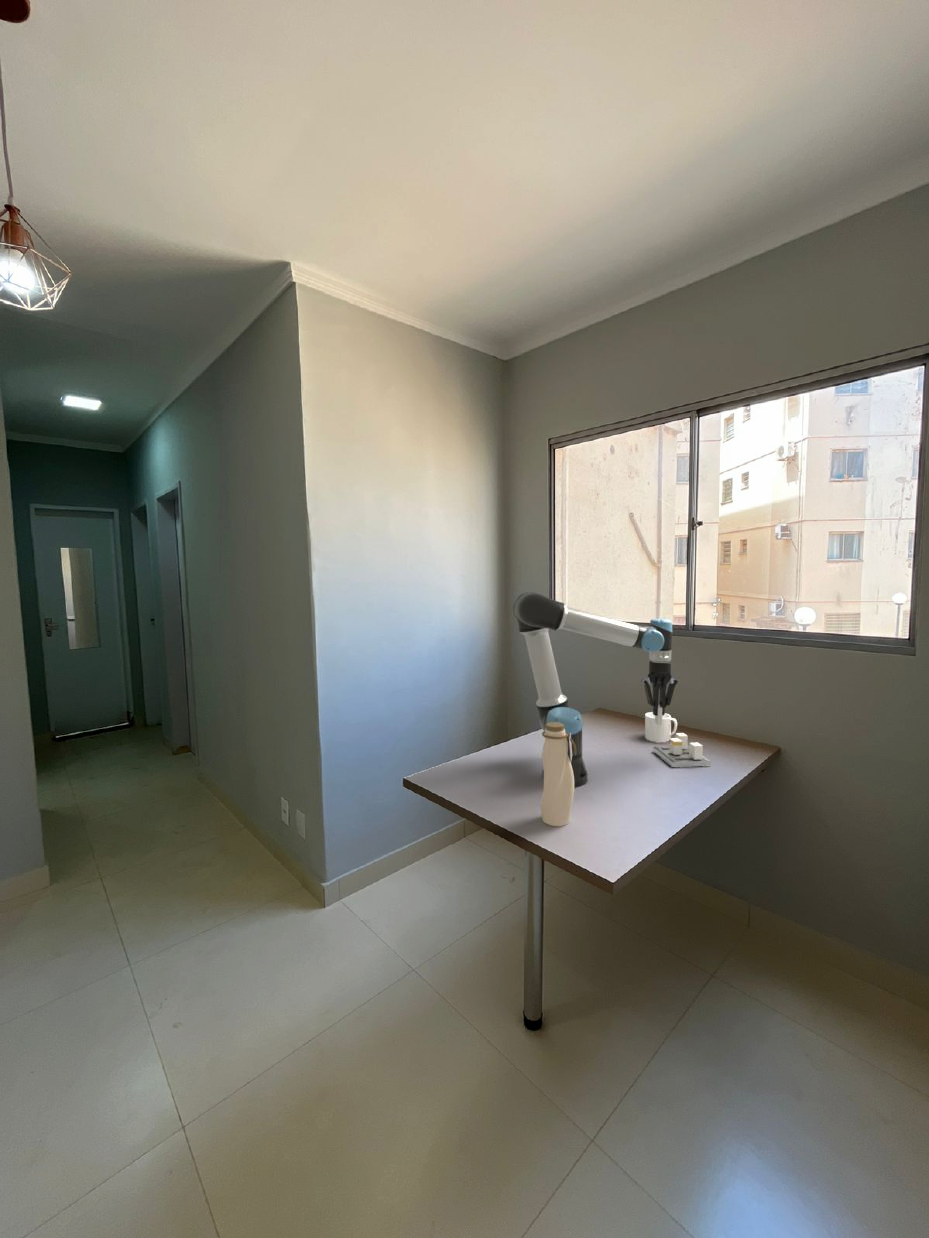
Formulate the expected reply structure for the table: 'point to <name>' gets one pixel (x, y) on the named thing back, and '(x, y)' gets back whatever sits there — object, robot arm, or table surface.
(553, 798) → the water bottle
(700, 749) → the breaker low
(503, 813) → the table surface
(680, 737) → the block
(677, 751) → the block
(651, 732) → the mug
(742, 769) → the table surface
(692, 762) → the panel
